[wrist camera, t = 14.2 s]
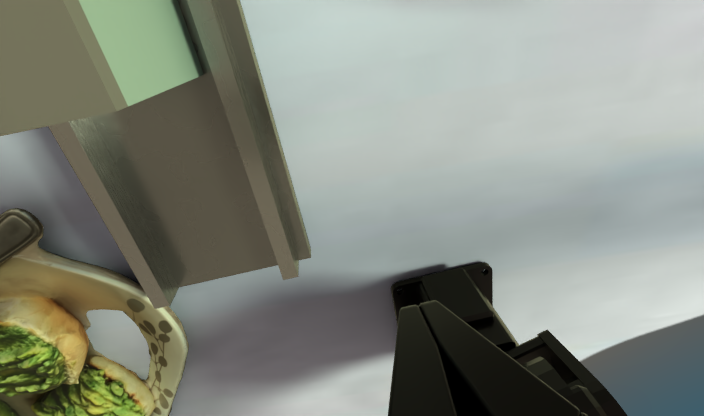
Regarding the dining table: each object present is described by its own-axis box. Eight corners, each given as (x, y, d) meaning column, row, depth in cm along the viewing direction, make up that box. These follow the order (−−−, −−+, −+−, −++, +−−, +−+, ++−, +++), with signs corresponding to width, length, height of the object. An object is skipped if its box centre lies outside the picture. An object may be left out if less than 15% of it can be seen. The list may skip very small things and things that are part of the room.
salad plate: (-163, 129, 16) (-328, 164, 12) (235, 256, 21) (219, 311, 17) (-145, 406, 22) (-246, 490, 18) (153, 449, 28) (127, 522, 24)
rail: (310, 247, 21) (311, 285, 18) (158, 282, 21) (133, 326, 18) (192, -166, 13) (156, -230, 10) (-61, -118, 12) (-182, -167, 9)
